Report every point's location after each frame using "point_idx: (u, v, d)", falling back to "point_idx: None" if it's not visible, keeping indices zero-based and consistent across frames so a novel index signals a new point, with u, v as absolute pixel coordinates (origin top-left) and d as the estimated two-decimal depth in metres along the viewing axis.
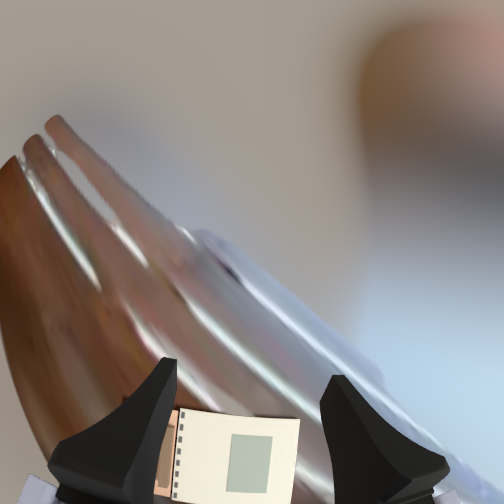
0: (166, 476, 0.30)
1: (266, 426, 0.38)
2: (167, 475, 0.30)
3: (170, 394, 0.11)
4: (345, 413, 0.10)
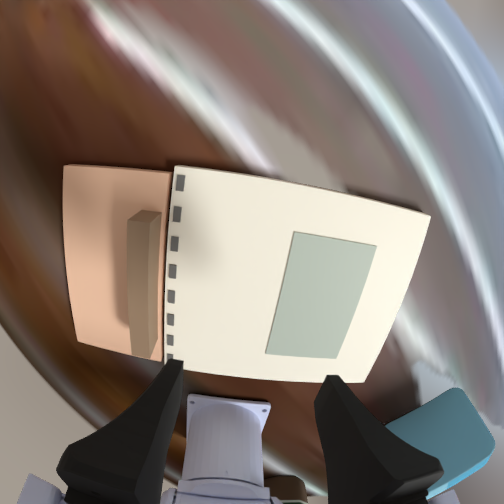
0: (145, 336, 0.18)
1: (369, 221, 0.18)
2: (147, 333, 0.18)
3: (177, 395, 0.11)
4: (339, 413, 0.10)
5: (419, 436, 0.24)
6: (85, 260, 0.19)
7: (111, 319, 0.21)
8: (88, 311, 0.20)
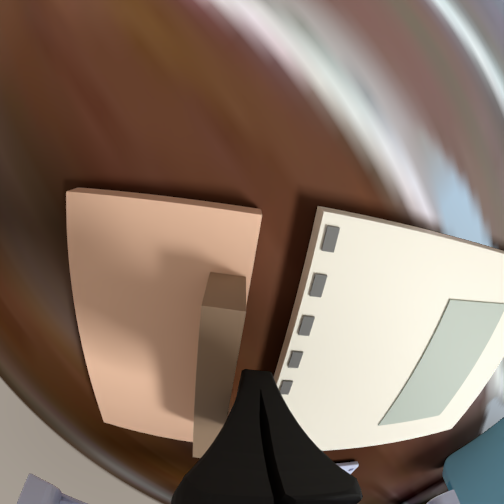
0: None
1: None
2: None
3: None
4: (260, 412, 0.10)
5: (480, 465, 0.18)
6: (112, 337, 0.12)
7: (154, 406, 0.14)
8: (119, 395, 0.14)
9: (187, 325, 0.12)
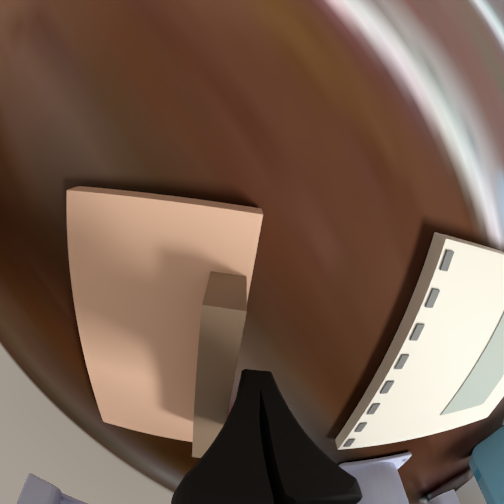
0: None
1: None
2: None
3: None
4: (260, 412, 0.10)
5: None
6: (111, 337, 0.12)
7: (153, 406, 0.14)
8: (119, 395, 0.14)
9: (187, 325, 0.12)
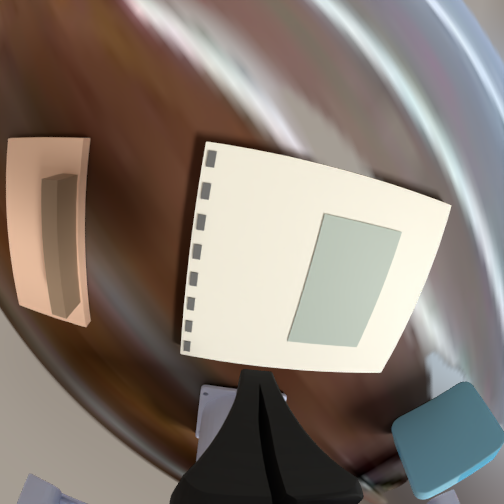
0: (60, 294, 0.17)
1: (396, 207, 0.18)
2: (61, 291, 0.17)
3: None
4: (261, 412, 0.10)
5: (430, 430, 0.24)
6: (21, 223, 0.18)
7: (42, 281, 0.19)
8: (25, 273, 0.19)
9: None
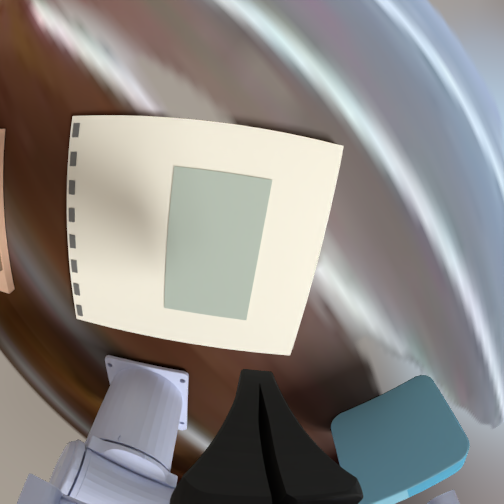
0: None
1: (259, 151, 0.17)
2: None
3: None
4: (261, 412, 0.10)
5: (375, 431, 0.23)
6: None
7: None
8: None
9: None
